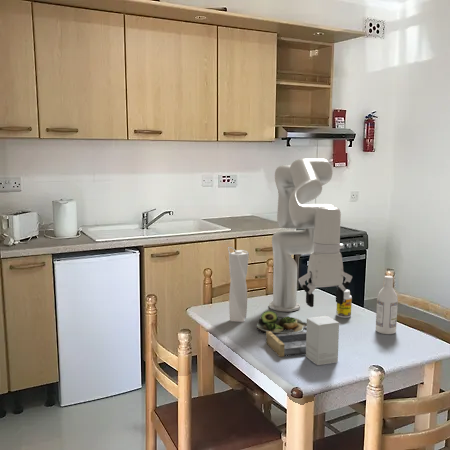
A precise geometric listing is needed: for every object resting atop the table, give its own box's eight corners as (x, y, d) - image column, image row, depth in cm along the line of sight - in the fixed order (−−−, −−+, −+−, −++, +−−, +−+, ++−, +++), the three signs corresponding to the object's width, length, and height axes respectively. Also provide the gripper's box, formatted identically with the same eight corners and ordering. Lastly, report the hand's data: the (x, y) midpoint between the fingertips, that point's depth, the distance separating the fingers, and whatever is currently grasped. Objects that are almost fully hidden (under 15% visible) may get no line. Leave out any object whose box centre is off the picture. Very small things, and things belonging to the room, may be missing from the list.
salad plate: (312, 322, 188) (312, 310, 188) (310, 339, 171) (310, 326, 170) (260, 318, 192) (261, 306, 192) (254, 335, 175) (254, 322, 174)
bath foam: (396, 329, 180) (399, 275, 177) (395, 335, 174) (399, 279, 171) (376, 327, 182) (378, 273, 180) (374, 333, 176) (377, 278, 173)
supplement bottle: (337, 318, 192) (338, 292, 191) (335, 313, 198) (336, 288, 196) (351, 318, 191) (353, 292, 190) (350, 314, 197) (351, 288, 195)
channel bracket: (265, 342, 167) (266, 331, 166) (315, 337, 172) (315, 326, 171) (279, 357, 155) (280, 344, 155) (332, 351, 160) (332, 339, 160)
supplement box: (338, 362, 152) (340, 322, 150) (316, 366, 149) (318, 325, 147) (325, 353, 158) (327, 314, 157) (304, 356, 156) (306, 317, 154)
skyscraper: (225, 321, 187) (226, 248, 183) (228, 315, 194) (229, 244, 190) (246, 323, 186) (247, 248, 181) (248, 316, 193) (249, 245, 189)
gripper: (346, 245, 155) (344, 299, 157) (294, 247, 150) (293, 303, 152) (359, 249, 147) (356, 305, 150) (305, 252, 143) (303, 310, 145)
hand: (324, 304), depth 151 cm, fingers open, 9 cm apart
